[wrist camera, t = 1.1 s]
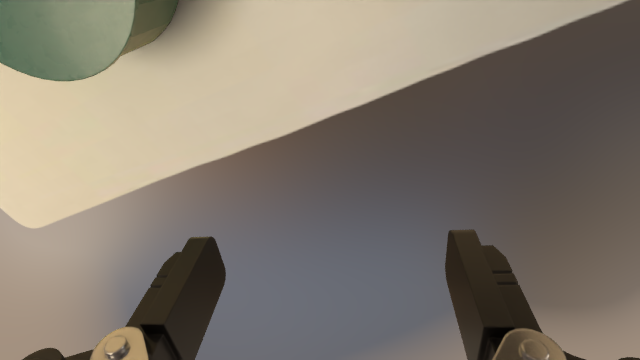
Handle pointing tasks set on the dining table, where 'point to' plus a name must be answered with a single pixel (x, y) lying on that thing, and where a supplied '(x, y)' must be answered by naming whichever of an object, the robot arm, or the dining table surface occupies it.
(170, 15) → the pot
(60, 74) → the lid
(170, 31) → the dining table surface
